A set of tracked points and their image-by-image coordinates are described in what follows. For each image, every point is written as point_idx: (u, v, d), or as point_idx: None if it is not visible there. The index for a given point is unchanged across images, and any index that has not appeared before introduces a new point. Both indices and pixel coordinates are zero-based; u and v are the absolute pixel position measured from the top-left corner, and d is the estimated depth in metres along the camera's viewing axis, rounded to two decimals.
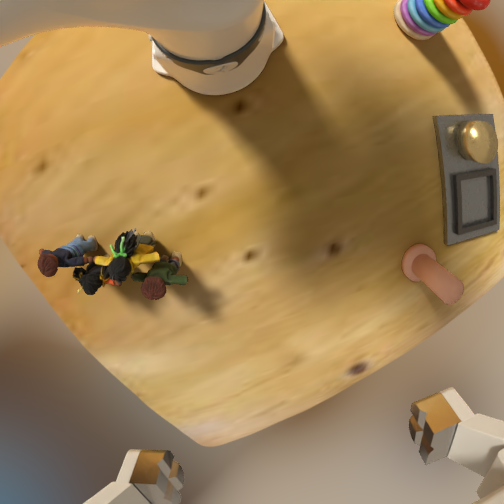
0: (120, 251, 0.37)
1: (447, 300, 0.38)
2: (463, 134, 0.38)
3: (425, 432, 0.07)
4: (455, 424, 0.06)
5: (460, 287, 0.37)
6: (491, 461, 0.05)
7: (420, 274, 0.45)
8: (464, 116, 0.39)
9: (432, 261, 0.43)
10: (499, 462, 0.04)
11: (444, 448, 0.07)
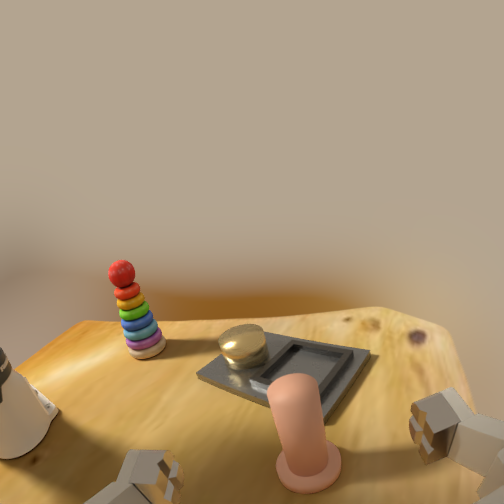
0: None
1: (295, 401, 0.21)
2: (223, 354, 0.45)
3: (425, 432, 0.07)
4: (455, 424, 0.06)
5: (296, 377, 0.24)
6: (491, 461, 0.05)
7: (291, 458, 0.23)
8: None
9: None
10: (499, 462, 0.04)
11: (444, 448, 0.07)
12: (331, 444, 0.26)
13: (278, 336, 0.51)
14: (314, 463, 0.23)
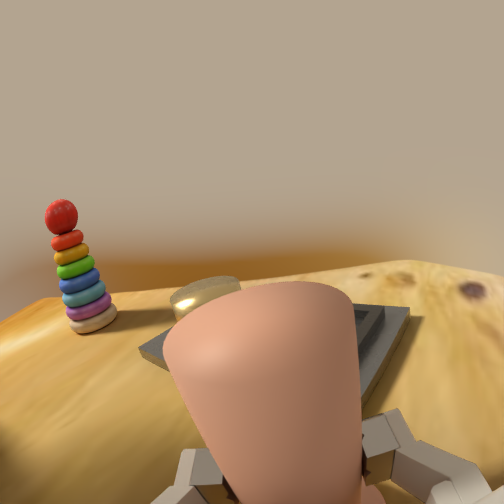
0: None
1: (263, 360, 0.05)
2: (176, 319, 0.29)
3: (362, 454, 0.07)
4: (392, 450, 0.06)
5: (275, 292, 0.08)
6: None
7: None
8: None
9: None
10: (432, 498, 0.04)
11: (384, 472, 0.07)
12: None
13: None
14: None
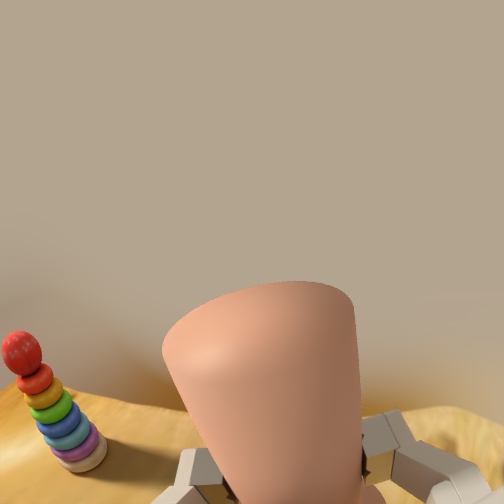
0: None
1: (262, 360, 0.05)
2: None
3: (362, 454, 0.07)
4: (392, 450, 0.06)
5: (275, 292, 0.08)
6: None
7: None
8: None
9: None
10: (432, 498, 0.04)
11: (384, 472, 0.07)
12: None
13: None
14: None
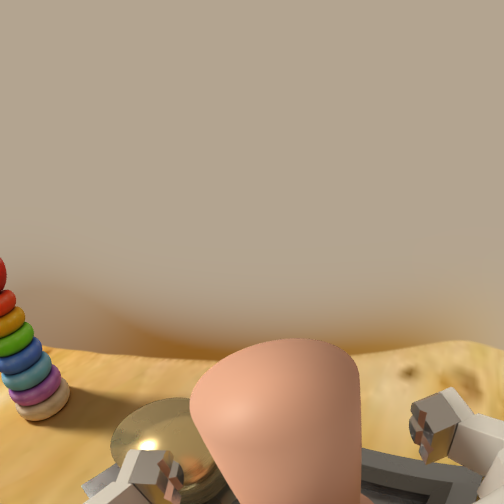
0: None
1: (281, 428, 0.05)
2: None
3: (425, 432, 0.07)
4: (455, 424, 0.06)
5: (288, 351, 0.08)
6: (491, 461, 0.05)
7: None
8: None
9: None
10: (499, 462, 0.04)
11: (444, 448, 0.07)
12: (363, 498, 0.11)
13: None
14: None
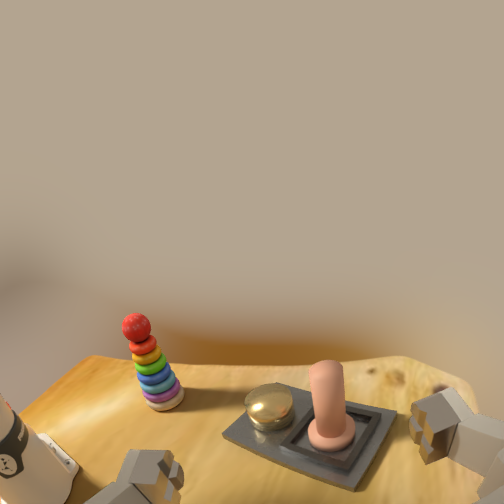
0: None
1: (329, 377, 0.32)
2: (249, 417, 0.42)
3: (425, 432, 0.07)
4: (455, 424, 0.06)
5: (327, 363, 0.35)
6: (491, 461, 0.05)
7: (322, 422, 0.34)
8: None
9: None
10: (499, 462, 0.04)
11: (444, 448, 0.07)
12: (346, 415, 0.38)
13: (303, 392, 0.47)
14: (338, 426, 0.34)
